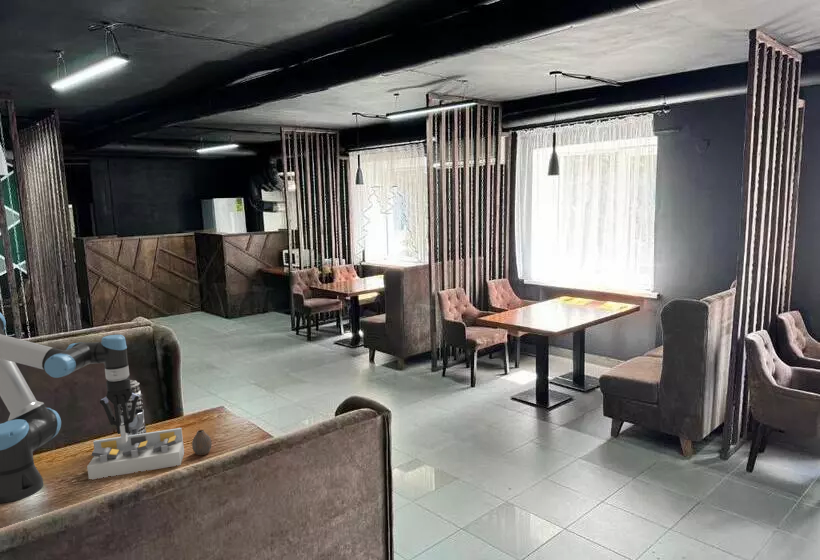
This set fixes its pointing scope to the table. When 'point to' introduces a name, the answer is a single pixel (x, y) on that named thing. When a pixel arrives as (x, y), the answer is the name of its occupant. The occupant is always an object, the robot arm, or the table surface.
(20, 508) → the table surface
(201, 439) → the vase
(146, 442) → the switch middle
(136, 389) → the decorative candle
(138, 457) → the switch unit
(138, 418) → the wine glass
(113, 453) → the switch left
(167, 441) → the switch right
